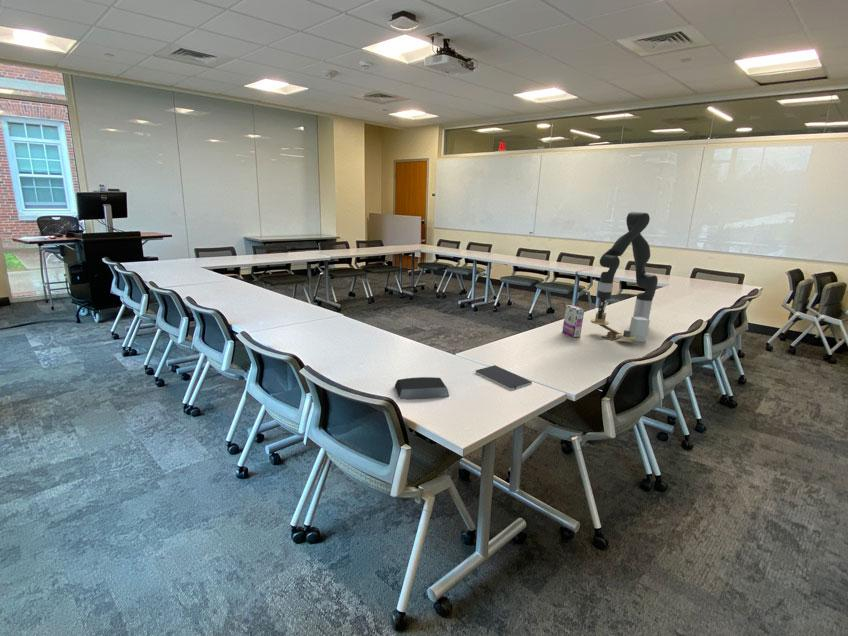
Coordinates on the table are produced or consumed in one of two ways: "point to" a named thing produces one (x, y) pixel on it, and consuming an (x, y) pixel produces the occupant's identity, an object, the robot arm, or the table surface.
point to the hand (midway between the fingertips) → (600, 317)
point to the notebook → (503, 377)
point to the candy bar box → (573, 320)
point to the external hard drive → (421, 388)
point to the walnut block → (600, 319)
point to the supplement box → (639, 328)
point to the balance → (615, 332)
